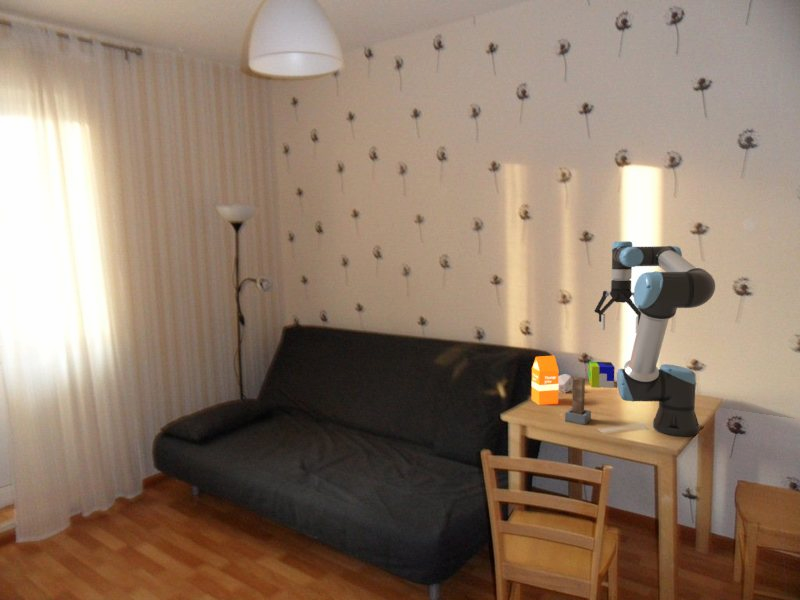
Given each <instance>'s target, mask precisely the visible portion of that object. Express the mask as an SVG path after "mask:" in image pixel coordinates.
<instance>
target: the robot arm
mask: <svg viewBox="0 0 800 600" xmlns="http://www.w3.org/2000/svg"><path fill="white" fill-rule="evenodd" d="M632 242H633V241H628V240H627V241H626V240H625V241H624V240H623V241H621V240H620V241H614V242H613V243H612V247H611V277H610V278H611V279H612V280H611V284H610V291H609V290H607V289H606V290H604V291H602V296H601V298H600V300H599V301H598V304H597V306H596V307H595V309H594V313H597V314H598V322H600V324H601V325H600V331H605V330H606V313H605V312H606V311H607V310H608V309H609V308H610V307H611V305H612V304H613V303H615V302H616V303H622V304H623V303H624V304H625V303H627V304H628V306H629V307H630V308H631V309H632V310H633V311H634V313H635V315H636V317H635V333H636V334H635V338H634V343H633V348H632V352H631V356H630V359H629V360H628V361H626V362H625V363H624V367H623V368H619V369H617V370H616V385H617V390H618V394H619V396H620V398H621V399H622V400H623V401H626V402H658V409H657V411H656V413H655V417H654V419H653V421H652V424H653V425H652V426H653V429H654V430H656V431H658V432H660V433H663V434H665V435H671V436H677V437H692V436H696V435H698V434H699V433H700V424H699V421H698V418H697V415H696V411H695V406H696V405H695V402H696V385H697V383H696V381H697V377H696V375H697V374H696V373H695V371H693V370H692V369H689V368H687V367H684V366H680V365H675V364H660V367H659V368H658V366H657V365H658V362H659V357H660V353H661V350H662V345H663V342H664V339H665V335H666V330H667V327H668V323H669V319H672V318H674V317H675V315H676V313H677V310H678V309H693V308H697V307H701V306H702V305H705V303H708V302H709V301H710V300H711V298H712V297H713V296H714V294H715V291H716V282H715V279H714V277H713V275H712V274H710V273H709V272H708V271H707V270H705V269H703V268H700V267H696V266H695V265H693V264H692V263H691V262H689V261H688V260H687V259H686V258H684V257H683V253H682V250H681V248H680V247H679V246H676V245H675V246H672V245H667V246H666V245H664V246H663V245H662V246H659V245H658V246H633V243H632ZM635 267H660V268H661V269H662V270H663V271H652V272H651V271H648V272H644V273H642V274H640V276H638V277H637V280H636V282H635V285H634V290H633V291H634V292H632V280H631V279H632V268H635ZM609 296H610V298H611V299H610V300H609V301H608V302H607V303H606V304H605V305H604V303H605V301H606V299H607V297H609ZM632 298H633V300H632ZM633 301H634V302H633ZM603 305H604V306H603Z"/></svg>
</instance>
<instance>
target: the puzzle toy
mask: <svg viewBox="0 0 800 600" xmlns="http://www.w3.org/2000/svg"><path fill="white" fill-rule="evenodd" d="M588 370H589V371H588V382H589V385H590V387H591V388H601V387H603V388H604V389H605V388H606V389H607V388H608V389H614V388H615V365H613V363H612V362H611V361H610V362H609V361H589V362H588ZM603 388H602V389H603Z"/></svg>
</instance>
